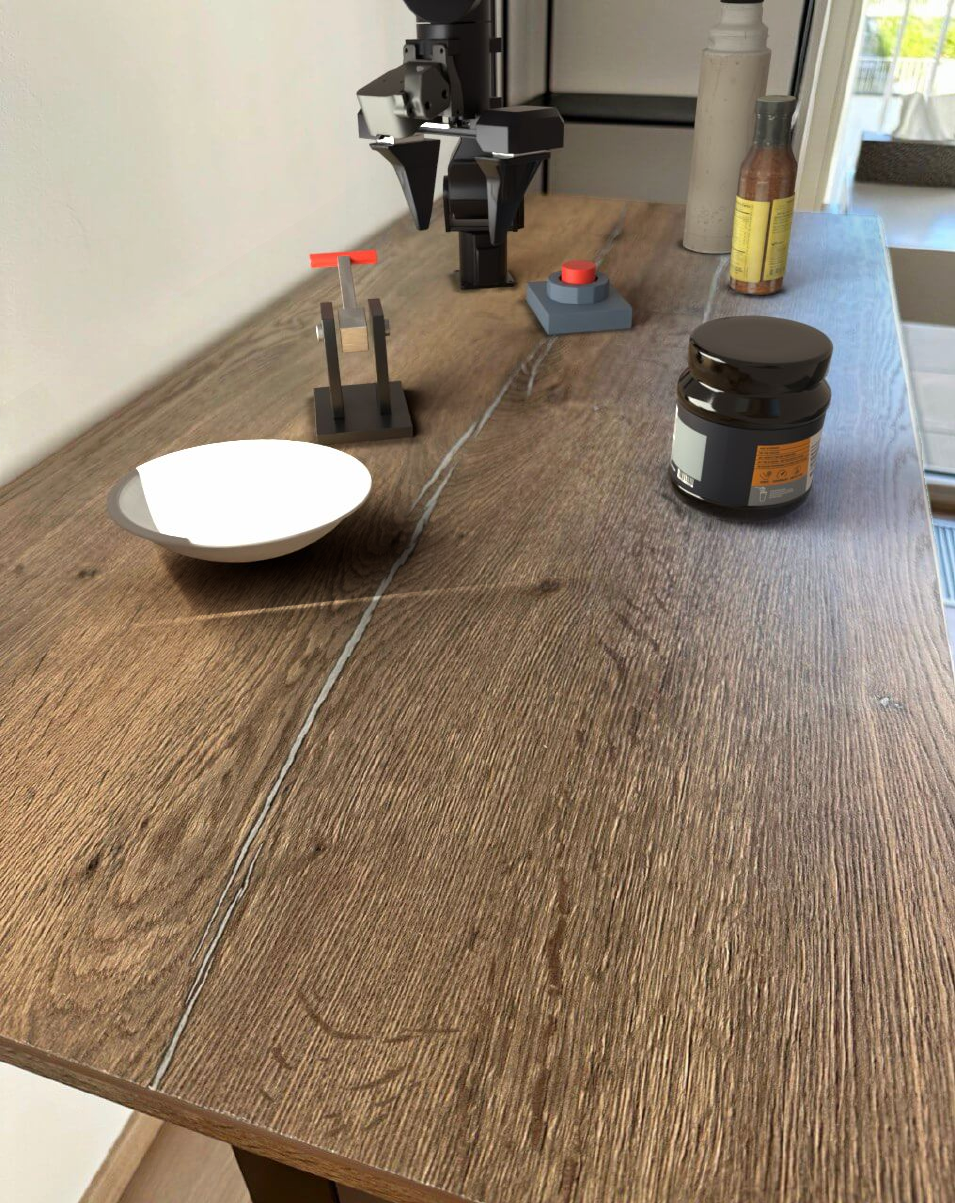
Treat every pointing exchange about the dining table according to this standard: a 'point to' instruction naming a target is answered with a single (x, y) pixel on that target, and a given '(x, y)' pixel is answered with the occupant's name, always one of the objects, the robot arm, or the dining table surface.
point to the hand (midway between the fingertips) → (458, 236)
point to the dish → (240, 498)
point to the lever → (348, 296)
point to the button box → (578, 305)
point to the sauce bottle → (765, 201)
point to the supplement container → (750, 417)
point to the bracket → (359, 391)
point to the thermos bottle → (725, 122)
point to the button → (578, 272)
